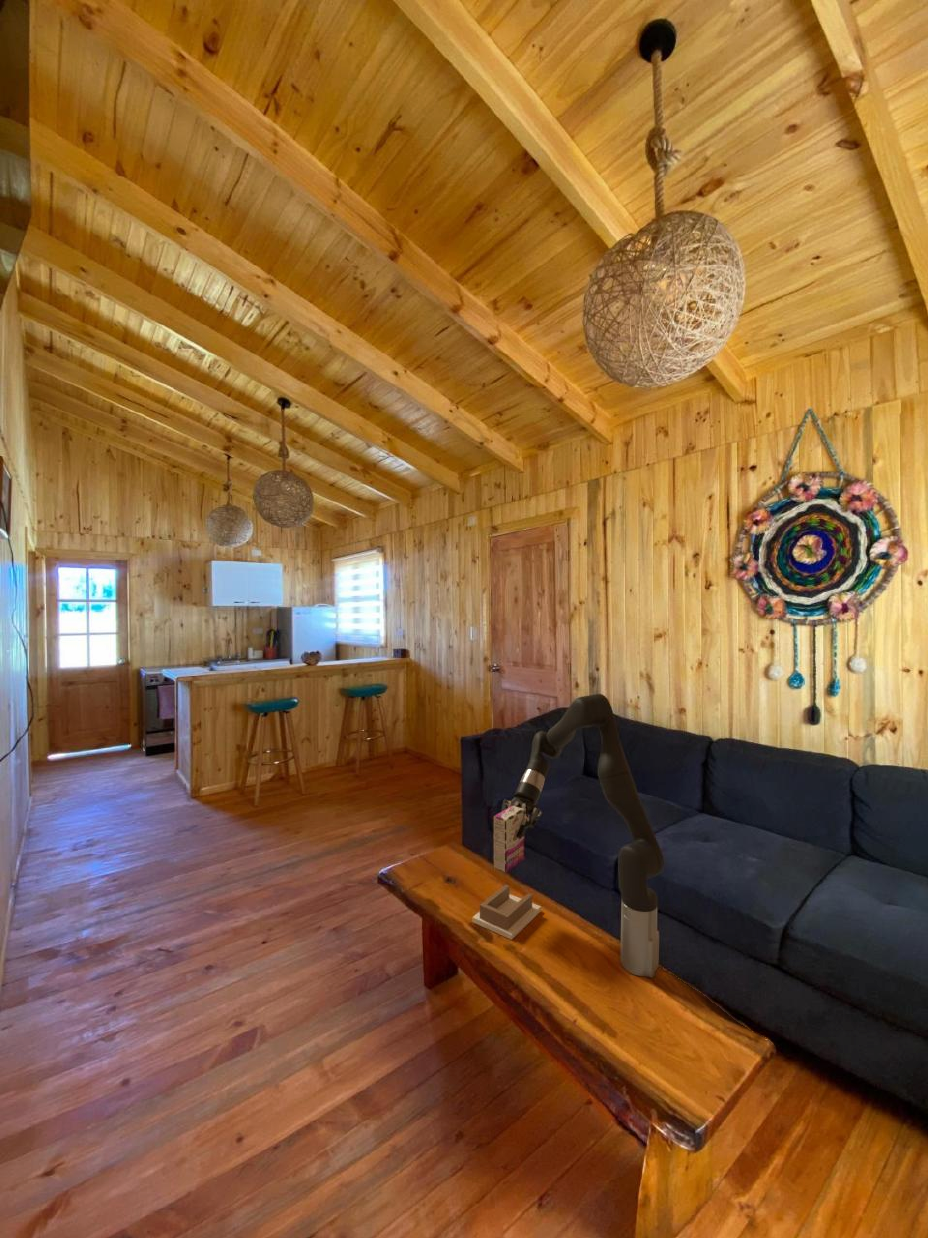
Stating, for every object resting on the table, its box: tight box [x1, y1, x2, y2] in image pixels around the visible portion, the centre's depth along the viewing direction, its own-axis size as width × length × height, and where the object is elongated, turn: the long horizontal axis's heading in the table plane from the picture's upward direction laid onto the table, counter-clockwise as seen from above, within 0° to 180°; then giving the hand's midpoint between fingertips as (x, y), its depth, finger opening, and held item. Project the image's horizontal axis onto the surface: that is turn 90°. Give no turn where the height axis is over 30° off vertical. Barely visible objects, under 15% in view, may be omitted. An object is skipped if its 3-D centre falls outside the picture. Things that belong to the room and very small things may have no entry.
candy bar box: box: [492, 805, 525, 873], centre depth 161 cm, size 11×5×16 cm, turn 142°
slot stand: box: [471, 884, 542, 941], centre depth 161 cm, size 14×18×6 cm
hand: (510, 835), depth 162 cm, fingers closed on candy bar box, 5 cm apart
